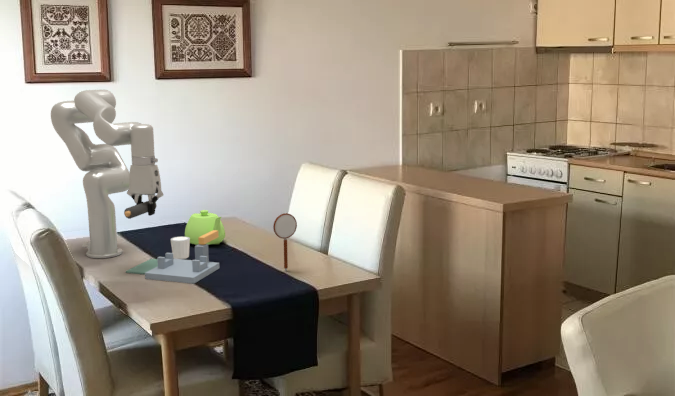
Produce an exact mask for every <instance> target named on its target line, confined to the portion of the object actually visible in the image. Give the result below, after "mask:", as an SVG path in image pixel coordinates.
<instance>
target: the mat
mask: <svg viewBox="0 0 675 396" xmlns="http://www.w3.org/2000/svg"><path fill="white" fill-rule="evenodd" d="M157 266H158V262H157V258H150V259H148V260H146V261H144V262H141V263H139V264H138V265H135V266H133V267H131V268H129V269H127V270H125V273H127V274H135V275H144V276H145V273H146V272H147V271H149V270H151V269H153V268H155V267H157Z"/></svg>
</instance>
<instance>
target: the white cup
mask: <svg viewBox="0 0 675 396" xmlns="http://www.w3.org/2000/svg"><path fill="white" fill-rule="evenodd" d="M190 244H191V243H190V238H189V237H185V236H173V237H171V238H170V245H171V253H173V259H183V260H187V259H189V258H190V247H191V246H190Z"/></svg>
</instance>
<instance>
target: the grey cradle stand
mask: <svg viewBox="0 0 675 396" xmlns="http://www.w3.org/2000/svg"><path fill="white" fill-rule="evenodd" d="M209 256H210V255H209V245H208V244H204V245H202V244H198V245H195V246H194V259H192V260H191V259H174V258H173V253H172V252H166V253H165V256H157V258H156V259H157V262H158V266H157V267H155V268H153V269H151V270H149V271H147V272H146V273H145V275H144V279H145V280H152V281H153V280H156V281H166V282H173V283H185V284H192V285H193V284H196V283H197V282H199V281H200V280H202V279H205V278H206V277H208V276H209V275H211V274H213V273H214V272H216V271H217V270H220V262H214V261H210V260H209V258H210V257H209Z"/></svg>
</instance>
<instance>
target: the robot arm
mask: <svg viewBox="0 0 675 396" xmlns="http://www.w3.org/2000/svg"><path fill="white" fill-rule="evenodd" d="M116 107H117V99H116V96H115V95H114V94H113V92H111V91H110V90H108V89H88V90H87V89H86V90H81V91H79V92H78V93H77V94H75V96H74V97H73V100H66V101H65V100H63V101H59V102H57V103H55V104H54V105H53V106H52V107H51V110H50V122H51V124H52V127H53V128H54V131H55V132H56V134H57V135H58V137H59V138H60V139H61V140H62V141H63V143H64V144H65V146H66V147H67V150H68V152H69V154H70V155H71V157H72V160H74V163H75V164H76V166H77V168H78V169H79V170H80V171H82V172H86V173H85V174H84V176H83V178H82V186H83V190H84V194H85V198H86V205H87V218H88V232H89V233H88V234H89V241H83V243H82V245H81V246H82V248H84V249H87V251H86V257H88V258H92V259H108V258H113V257H114V258H115V257H117V256H120V255H121V254H122V253H123V249H122V248H120V247H118V236H117V232H118V231H117V219H116V207H115V203H114V202H113V201H112V199H111V198H110V196H109V195H112V194H118V193H123V192H126V194H127V195H128V196H129V197H131V198H132V200H133V201H134V203H135V205H138V204H140V203H143V202H144V201H143V195H144V196H147V198H148V199H147V201H149V204H148V212H147V215H148V216H153V215H155V214H156V209H155V203H156V204H157V201H158V200H159V199H161V198H162V197H164V193H163V191H162V182H161V175H160V170H159V167H158V165H157V164H156V163H158V160H159V159H158V158H156V156H155V141H154V140H155V139H154V138H155V136H154V127H153V126H152V124H149V123H141V122H138V121H130V122H118V123H116V122H115V123H114V121H115V119H116V117H117V112H116ZM85 123H87V124H88V123H92V126H93V131H94V133H95V136H96V137H97V138H98V139H99V140H100V141H102V142H104V143H101V144H100V143H99V144H96V143H93V142H92V140H91V139H90V137H89V135H88V133H86V131H84V130H83V129H82V128H80V127H79V126H77V124H85ZM126 145H129V146H130V151H131V153H130V154H131V165H130V167H129V169H128V167H127V165H126V164H125V161H124V159H123V157H122V156H121V154H120V153H119V151H118V149H117V148H116V147H117V146H126Z"/></svg>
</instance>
